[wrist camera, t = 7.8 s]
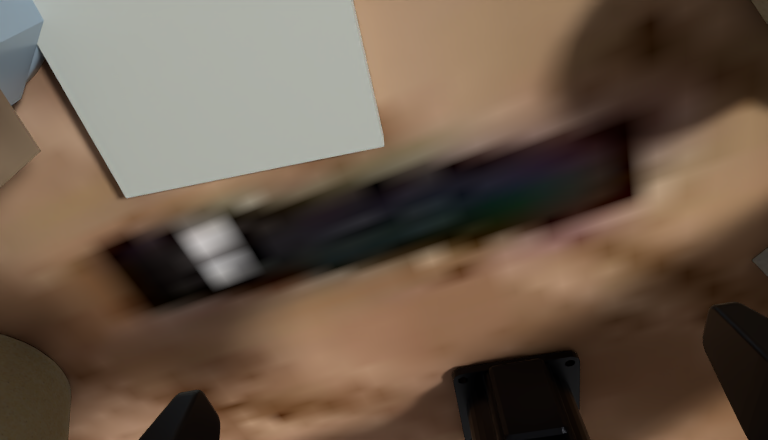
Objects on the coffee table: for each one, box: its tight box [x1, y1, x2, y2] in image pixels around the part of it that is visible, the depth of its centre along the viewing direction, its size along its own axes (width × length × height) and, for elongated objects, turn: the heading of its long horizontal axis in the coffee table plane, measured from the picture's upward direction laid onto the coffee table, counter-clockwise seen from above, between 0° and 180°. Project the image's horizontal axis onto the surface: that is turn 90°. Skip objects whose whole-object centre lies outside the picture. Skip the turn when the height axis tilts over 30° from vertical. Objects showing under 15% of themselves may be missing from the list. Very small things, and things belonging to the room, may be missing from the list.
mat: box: [33, 0, 384, 198], centre depth 17 cm, size 10×10×1 cm
